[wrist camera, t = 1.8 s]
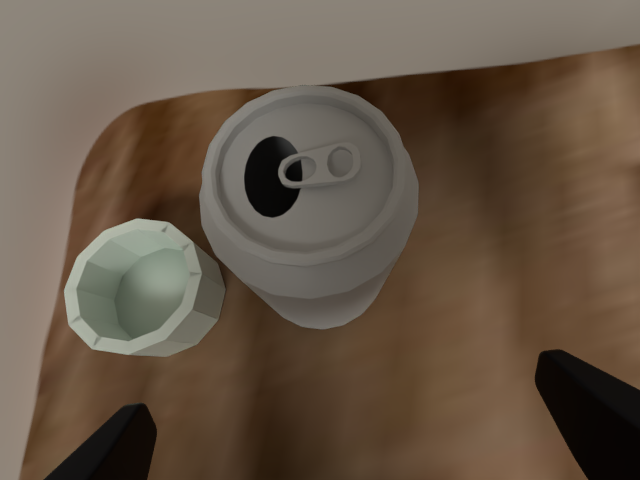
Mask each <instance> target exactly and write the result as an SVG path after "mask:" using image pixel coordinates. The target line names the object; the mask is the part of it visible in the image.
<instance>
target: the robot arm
mask: <svg viewBox="0 0 640 480" xmlns="http://www.w3.org/2000/svg"><path fill="white" fill-rule="evenodd" d="M535 384H536V387H537V389H538V391H539V393H540V395H541V397H542V399H543V401H544V402H545V404H546V406H547V408H548V410H549V412H550V414H551V416H552V417H553V419H554V421H555V423H556V425H557V427H558V429H559V431H560V433H561V434H562V436H563V438H564V440H565V442H566V444H567V446H568V447H569V449H570V451H571V453H572V455H573V456H574V458H575V460H576V461H577V463H578V464H579V466H580V468H581V469H582V471H583V472H584V474H585V475H586V477H587V478H588V480H640V390H639V389H637V388H635V387H633V386H631V385H629V384H627V383H625V382H623V381H621V380H619V379H617V378H616V377H614V376H612V375H610V374H608V373H606V372H604V371H602V370H600V369H598V368H596V367H594V366H592V365H590V364H588V363H587V362H585V361H583V360H581V359H579V358H577V357H575V356H573V355H571V354H569V353H567V352H565V351H563V350H559V349H556V350H548V351H543V352H541V353H540V354H539V358H538V363H537V368H536V373H535ZM156 437H157V429H156V425H155V423H154V421H153V418H152V416H151V414H150V412H149V410H148V408H147V406H146V405H145V404H144V403H134V404H127V405H125V406H123V407H122V408H121V409H119V410H118V411H117V412H116V413H115V414H114V415H113V416H112V417H111V418H110V419H109V420H108V421H106V422H105V423H104V424H103V425H102V426H101V427H100V428H99V429H98V430H97V431H96V432H95V433H93V434H92V435H91V436H90V437H89V438H88V439H87V440H86V441H85V442H84V443H83V444H82V445H80V446H79V447H78V448H77V449H76V450H75V451H74V452H73V453H72V454H71V455H70V456H69V457H67V458H66V459H65V460H64V461H63V462H62V463H61V464H60V465H59V466H58V467H57V468H56V469H54V470H53V471H52V472H51V473H50V474H49V475H48V476H47V477H46V478H45V479H44V480H147V478H148V473H149V469H150V464H151V460H152V455H153V451H154V446H155V442H156Z"/></svg>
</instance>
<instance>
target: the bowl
mask: <svg viewBox="0 0 640 480" xmlns="http://www.w3.org/2000/svg"><path fill="white" fill-rule="evenodd" d="M225 291H226V288H225V285H224V282H223V279H222V275H221V272H220V269H219V265H218V263H217V262H216V261H215V260H214V259H212V258H211V257H210V256H209V255H208V254H207V253H205V252H204V251H203V250H202V249H201V248H200V247H198V246H197V245H196V244H195V243H194V242H193V241H191V240H190V239H189V238H188V237H187V236H185V235H184V234H183V233H182V232H180V231H179V230H178V229H177V228H176V227H174V226H173V225H172V224H171V223H170V222H162V221H154V220H146V219H134V220H132V221H129V222H126V223H124V224H121V225H118V226H115V227H113V228H110V229H107V230H105V231H103V232H102V233H101V234H100V235H99V236H98V237H97V238H96V239H95V240H94V241H93V242H92V243H91V244H90V245H89V246H88V247H87V248H86V249H85V250H84V251H83V252H82V253H81V254H79V255H78V257H77V259H76V261H75V264H74V266H73V269H72V272H71V274H70V277H69V279H68V282H67V284H66V287H65V289H64V295H65V302H66V310H67V317H68V324H69V326H70V327H71V328H72V329H73V330H74V331H75V332H76V333H77V334H78V335H79V336H80V337H81V338H82V339H83V340H84V341H85V342H86V344H87V345H88V346H89V347H90V348H91V349H95V350H101V351H107V352H113V353H120V354H126V355H141V356H160V357H168V356H170V355H173V354H175V353H178V352H180V351H183V350H185V349H188V348H190V347H193V346H195V345H197V344H198V343H199V342H200V341H201V340H202V338H203V337H204V336H205V335H206V334H207V333H208V331H209V330H210V329H211V328H212V327H213V326H214V324H215V323H216V322H217V321H218V319H219V316H220V312H221V308H222V304H223V299H224V295H225Z"/></svg>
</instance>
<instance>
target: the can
mask: <svg viewBox="0 0 640 480" xmlns="http://www.w3.org/2000/svg"><path fill="white" fill-rule="evenodd" d="M202 181H203V182H202V186H201V190H200V194H199V200H200V212H201V224H202V228H203V230H204V232H205V234H206V236H207V238H208V241H209V243H210V245H211V247H212V249H213V251H214V253H215V255H216V256H217V257H218V258H219V259H220V260H221V261H222V262H223V263H224V264H225V265H226V266H227V267H228V268H229V269H230V270H231V271H232V272H233V273H234V274H235V275H236V276H237V277H238V278H239V279H240V280H241V281H242V282H243V283H245V284H246V285H247V286H248V287H249V288H250V289H251V290H252V291H254V292H255V293H256V294H257V295H258V296H259V297H260V298H261V299H263V300H264V301H265V302H266V303H267V304H268V305H269V306H271V307H272V308H273V309H274V310H275V311H276V312H277V313H278V314H280V315H281V316H282V317H283V318H284V319H286V320H289V321H291V322H293V323H295V324H297V325H299V326H301V327H306V328H315V329H328V328H333V327H337V326H342V325H345V324H347V323H348V322H350V321H352V320H353V319H355V318H357V317H359V316H360V315H362V314H363V313H364V311H365V310H366V309H367V308H368V307H369V306H370V305H371V303H372V302H373V301H374V300H375V299H376V297H377V295H378V293H379V292H380V290H381V288H382V286H383V284H384V283H385V281H386V279H387V277H388V276H389V274H390V272H391V270H392V268H393V267H394V265H395V263H396V261H397V260H398V258H399V256H400V254H401V253H402V251H403V249H404V247H405V245H406V243H407V240H408V238H409V235H410V233H411V230H412V228H413V225H414V223H415V220H416V218H417V216H418V191H419V182H418V179H417V176H416V173H415V170H414V168H413V165H412V162H411V159H410V156H409V153H408V152H407V151H406V150H405V148H404V146H403V143H402V140H401V137H400V134H399V133H398V132H397V130H396V129H395V128H394V126H393V125H392V124H391V123H390V121H389V120H388V119H387V117H386V116H385V115H384V114H383V112H382V111H380V110H379V109H377V108H376V107H374V106H373V105H371V104H370V103H368V102H367V101H365V100H364V99H363V98H361V97H360V96H358V95H355V94H351V93H348V92H345V91H342V90H339V89H336V88H333V87H325V86H309V85H300V86H295V87H289V88H284V89H279V90H274V91H271V92H269V93H267V94H265V95H263V96H261V97H258V98H256V99H254V100H252V101H250V102H248V103H246V104H245V105H244V106H243V107H241V108H240V109H239V110H238V111H237V112H235V113H234V114H233V115H232V116H231V117H229V118H228V119H227V120H226V121H225V122H224V123H223V125H222V126H221V128H220V129H219V131H218V132H217V134H216V135H215V137H214V138H213V140H212V142H211V143H210V145H209V147H208V151H207V155H206V158H205V162H204V166H203V170H202Z"/></svg>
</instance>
